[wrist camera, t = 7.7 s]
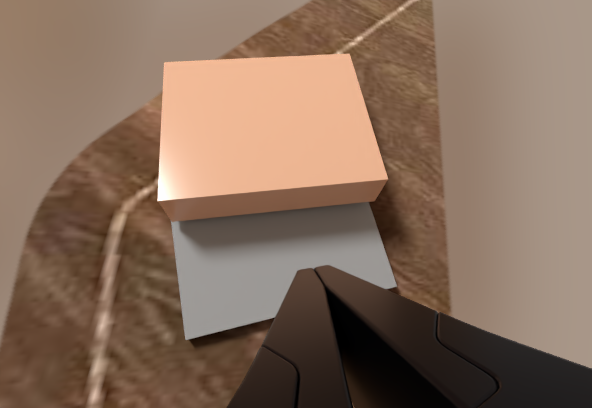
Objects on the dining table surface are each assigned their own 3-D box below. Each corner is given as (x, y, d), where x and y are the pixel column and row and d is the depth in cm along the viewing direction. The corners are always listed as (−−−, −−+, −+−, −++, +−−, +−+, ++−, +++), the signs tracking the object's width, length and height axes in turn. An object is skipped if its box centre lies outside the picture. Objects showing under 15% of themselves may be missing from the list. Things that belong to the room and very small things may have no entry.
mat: (393, 287, 18) (396, 286, 17) (188, 339, 16) (185, 340, 16) (346, 146, 21) (348, 141, 20) (168, 177, 19) (165, 172, 18)
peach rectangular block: (388, 179, 16) (349, 53, 20) (157, 200, 15) (164, 62, 19) (373, 202, 18) (341, 85, 22) (173, 222, 17) (176, 95, 21)
